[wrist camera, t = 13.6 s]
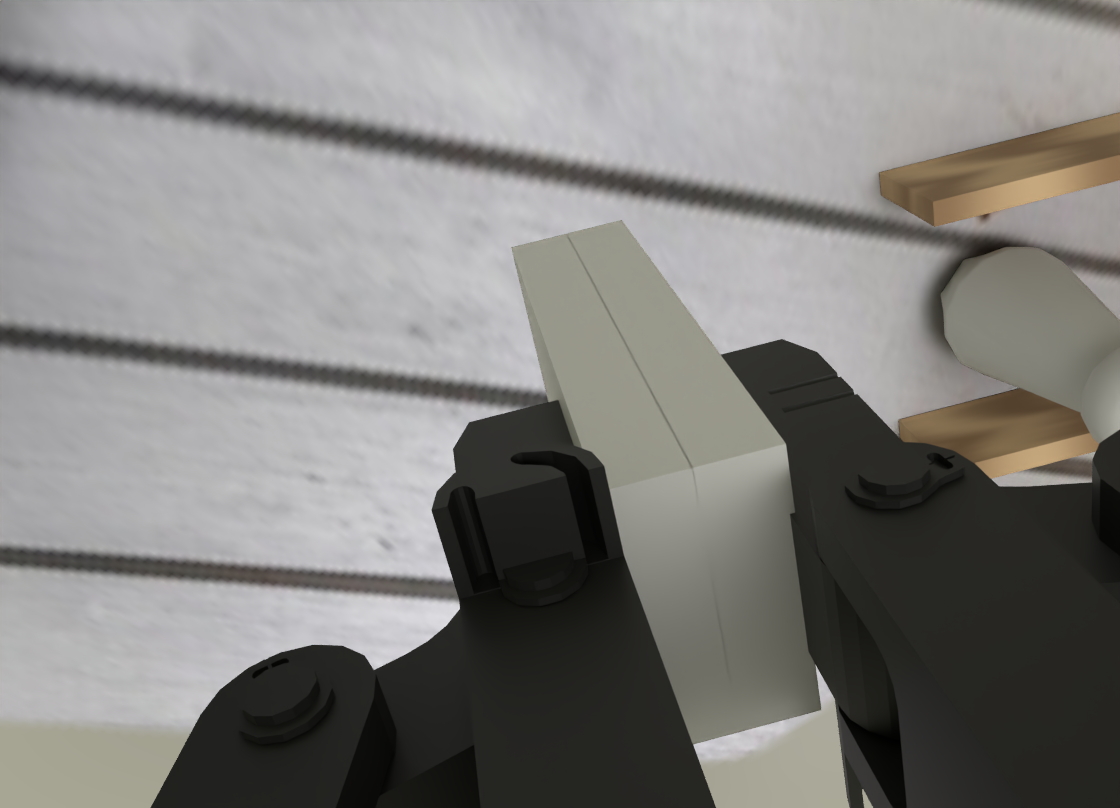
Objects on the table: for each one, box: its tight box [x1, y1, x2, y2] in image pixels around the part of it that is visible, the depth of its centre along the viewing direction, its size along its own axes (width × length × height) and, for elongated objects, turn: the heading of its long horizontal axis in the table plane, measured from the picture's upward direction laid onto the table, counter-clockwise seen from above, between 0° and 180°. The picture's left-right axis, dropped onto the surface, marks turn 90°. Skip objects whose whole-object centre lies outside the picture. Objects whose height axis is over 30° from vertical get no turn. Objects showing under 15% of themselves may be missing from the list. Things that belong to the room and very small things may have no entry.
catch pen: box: [879, 113, 1120, 479], centre depth 46 cm, size 14×13×5 cm
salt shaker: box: [940, 247, 1120, 444], centre depth 43 cm, size 6×6×13 cm
